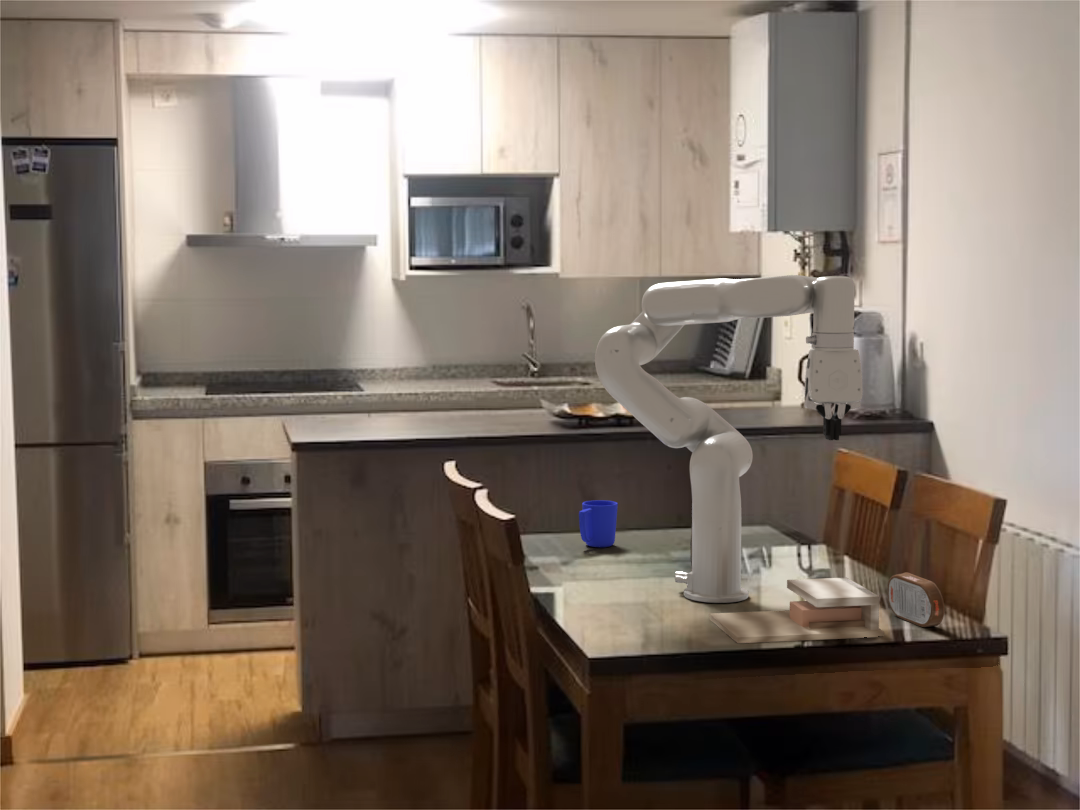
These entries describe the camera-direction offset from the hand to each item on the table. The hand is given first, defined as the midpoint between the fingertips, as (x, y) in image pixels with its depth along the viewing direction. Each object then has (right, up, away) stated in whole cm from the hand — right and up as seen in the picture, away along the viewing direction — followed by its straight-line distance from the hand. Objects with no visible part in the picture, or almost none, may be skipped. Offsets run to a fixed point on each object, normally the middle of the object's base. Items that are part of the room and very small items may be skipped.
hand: (832, 439), depth 285 cm
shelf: (-9, -34, -14) cm, 37 cm away
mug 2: (-19, -29, +36) cm, 50 cm away
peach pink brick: (-4, -33, -13) cm, 35 cm away
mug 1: (-42, -27, +64) cm, 81 cm away
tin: (+13, -33, -9) cm, 37 cm away
